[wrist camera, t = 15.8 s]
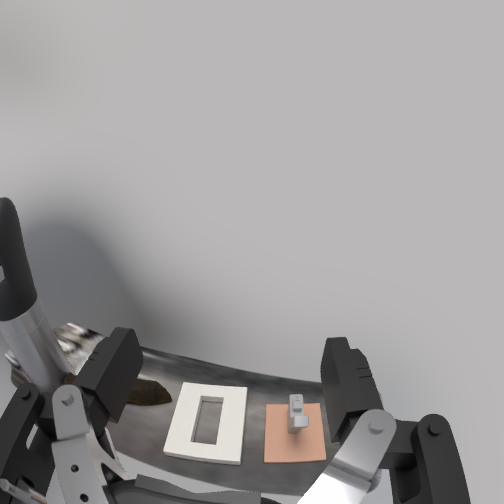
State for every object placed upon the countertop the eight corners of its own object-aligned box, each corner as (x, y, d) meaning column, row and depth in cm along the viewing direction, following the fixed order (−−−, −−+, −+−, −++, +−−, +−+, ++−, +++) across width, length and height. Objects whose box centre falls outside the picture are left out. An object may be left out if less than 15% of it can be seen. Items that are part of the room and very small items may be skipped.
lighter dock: (166, 455, 27) (163, 450, 26) (185, 387, 39) (183, 382, 38) (240, 465, 26) (239, 461, 26) (247, 392, 38) (246, 387, 38)
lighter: (287, 410, 34) (292, 378, 31) (299, 410, 34) (305, 377, 31) (287, 451, 28) (294, 424, 25) (301, 450, 28) (309, 423, 25)
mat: (264, 462, 27) (264, 461, 26) (266, 405, 36) (266, 404, 36) (325, 460, 26) (326, 459, 26) (318, 404, 35) (319, 403, 35)
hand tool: (69, 398, 33) (58, 381, 31) (77, 383, 36) (66, 365, 35) (170, 416, 34) (162, 399, 32) (173, 396, 37) (167, 378, 35)
